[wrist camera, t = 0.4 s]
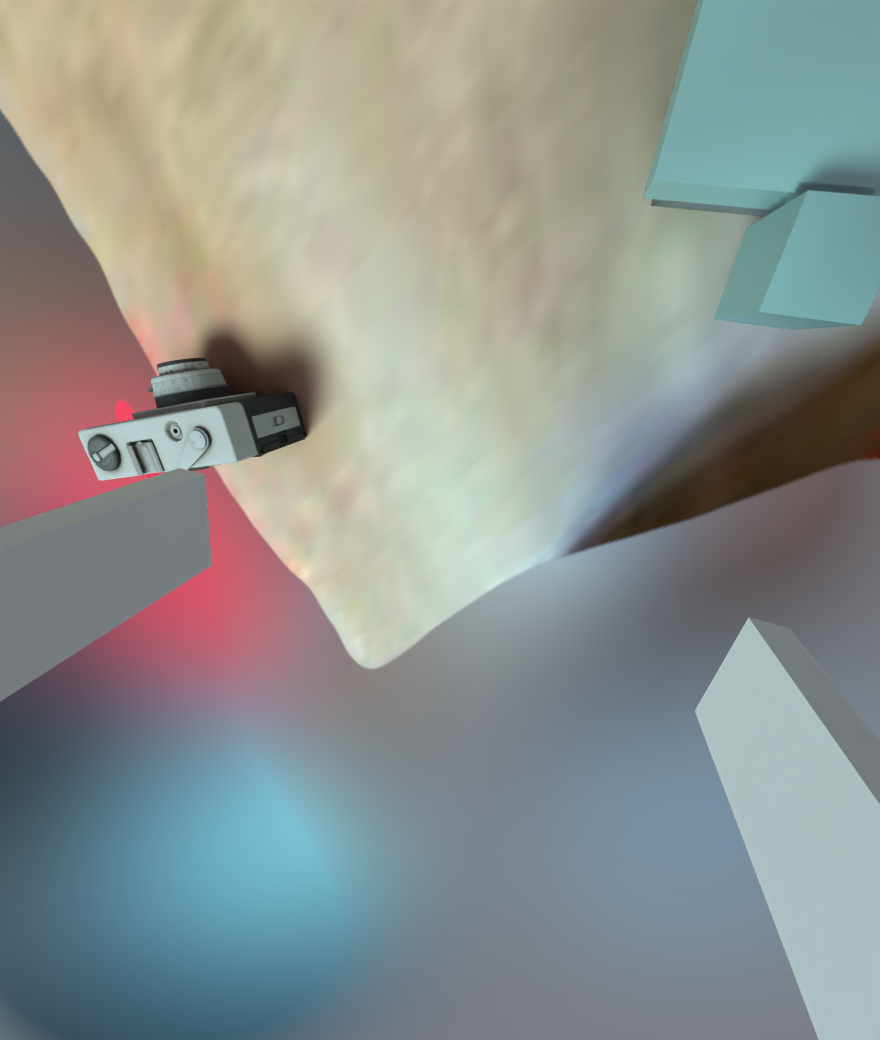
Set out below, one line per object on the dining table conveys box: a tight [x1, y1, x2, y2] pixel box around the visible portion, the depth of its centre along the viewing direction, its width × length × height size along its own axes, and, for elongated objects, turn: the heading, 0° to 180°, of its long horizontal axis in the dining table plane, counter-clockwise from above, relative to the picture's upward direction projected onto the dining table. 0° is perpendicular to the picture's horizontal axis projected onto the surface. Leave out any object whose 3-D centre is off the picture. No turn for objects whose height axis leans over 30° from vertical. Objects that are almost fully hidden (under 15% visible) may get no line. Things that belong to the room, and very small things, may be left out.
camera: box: [79, 358, 306, 480], centre depth 35 cm, size 14×8×10 cm, turn 100°
